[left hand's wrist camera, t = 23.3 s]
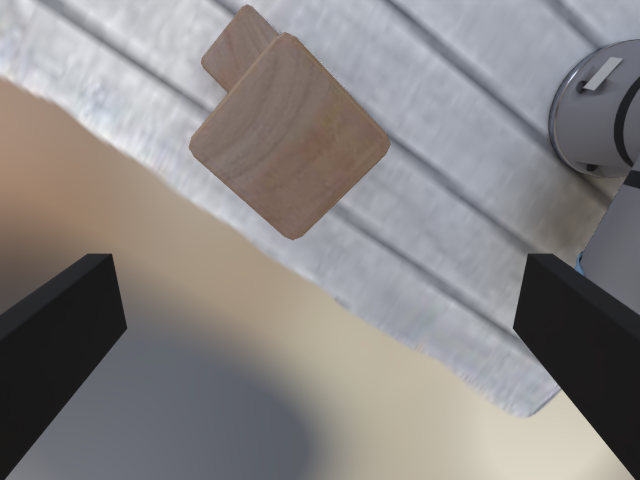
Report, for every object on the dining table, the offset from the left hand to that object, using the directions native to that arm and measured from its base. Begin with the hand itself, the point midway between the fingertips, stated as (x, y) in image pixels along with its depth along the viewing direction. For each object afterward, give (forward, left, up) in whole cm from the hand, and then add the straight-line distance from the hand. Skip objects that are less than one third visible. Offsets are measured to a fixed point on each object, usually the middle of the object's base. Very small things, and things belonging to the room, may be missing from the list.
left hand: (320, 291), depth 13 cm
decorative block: (+7, +2, -38) cm, 39 cm away
